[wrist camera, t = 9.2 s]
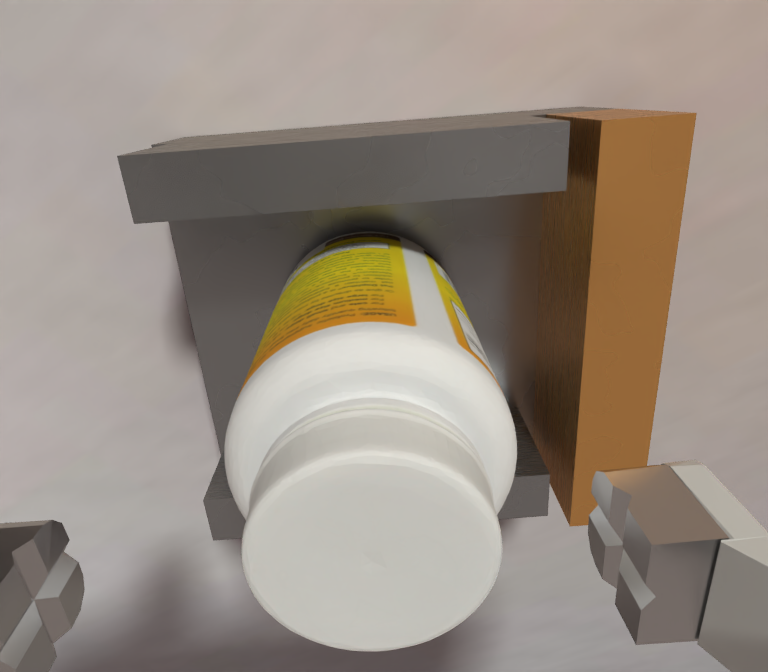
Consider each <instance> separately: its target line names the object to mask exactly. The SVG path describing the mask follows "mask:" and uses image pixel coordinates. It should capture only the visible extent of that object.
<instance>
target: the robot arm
mask: <svg viewBox="0 0 768 672" xmlns="http://www.w3.org/2000/svg"><path fill="white" fill-rule="evenodd" d="M591 493H592V495H593V496H594V498H595V500H596V502H597V503H598V506H597V507H596V508H595V509H594V510H593V511H592V512H591V514H590V515H589V523H588V536H589V543H590V549H591V553H592V556H593V559H594V562H595V565H596V567H597V569H598V571H599V573H600V575H601V577H602V579H603V580H605V581H606V582H608V583H609V584H611V585H612V586H614V587H615V588H617V591H616V599H615V605H616V607H617V609H618V611H619V613H620V615H621V617H622V619H623V621H624V622H625V624H626V626H627V628H628V630H629V632H630V634H631V636H632V638H633V640H634V642H635V644H636V645H641V644H656V643H672V642H687V641H698V645H699V646H700V647H702V648H703V649H704V650H705V651H707V652H708V653H709V654H710V655H712V656H713V657H714V658H715V659H716V660H718V661H719V662H720V663H721V664H723V665H724V666H725V667H726V668H728V669H729V670H730V671H731V672H768V532H767V531H766V530H765V529H764V528H763V526H762V525H761V524H760V523H759V522H758V521H757V520H756V519H755V518H754V517H753V516H752V515H751V514H750V513H749V512H748V511H747V510H746V508H745V507H744V506H743V505H742V504H741V503H740V502H739V501H738V500H737V499H736V498H735V497H734V496H733V495H732V494H731V493H730V491H729V490H728V489H727V488H726V487H725V486H724V485H723V484H722V483H721V482H720V481H719V480H718V479H717V478H716V477H715V476H714V475H713V473H712V472H711V471H710V470H709V469H708V468H707V467H706V466H705V465H704V464H703V463H701V462H698V461H696V460H690V461H681V462H672V463H663V464H661V465H652V466H641V467H631V468H621V469H610V470H600V471H596V473H595V475H594V477H593V481H592V490H591ZM68 542H69V538H68V536H67V533H66V531H65V529H64V527H63V525H62V523H60V522H57V521H54V520H45V521H30V522H15V523H0V672H49V670H50V668H51V666H52V664H53V663H54V661H55V659H56V657H57V656H56V652H55V648H54V642H56V641H57V640H58V639H59V638H60V637H62V636H63V635H64V634H65V633H66V632H68V631H69V630H70V629H71V628H72V626H73V624H74V622H75V620H76V618H77V616H78V614H79V612H80V610H81V605H82V600H83V595H84V580H83V573H82V571H81V568H80V565H79V563H78V562H77V561H76V560H75V559H73V558H72V557H70V556H69V555H68V554H66V553H65V552H64V550H65V548H66V546H67V544H68Z"/></svg>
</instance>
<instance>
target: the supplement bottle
mask: <svg viewBox="0 0 768 672" xmlns="http://www.w3.org/2000/svg"><path fill="white" fill-rule="evenodd" d="M224 459H225V469H226V475H227V480H228V484H229V487H230V490H231V493H232V495H233V498H234V500H235V502H236V504H237V506H238V508H239V510H240V512H241V513H242V515H243V517H244V518H245V520H246V523H245V526H244V531H243V536H242V548H241V558H242V564H243V570H244V574H245V576H246V579H247V582H248V585H249V587H250V589H251V591H252V593H253V595H254V596H255V598H256V599H257V600H258V602H259V603H260V605H261V606H262V607H263V608H264V609H265V610H266V611H267V612H268V613H269V614H270V615H271V616H272V617H273V618H274V619H275V620H277V621H278V622H279V623H280V624H282V625H283V626H284V627H286V628H287V629H289V630H290V631H292V632H294V633H296V634H298V635H300V636H302V637H305V638H307V639H309V640H311V641H314V642H316V643H319V644H323V645H326V646H330V647H334V648H338V649H344V650H351V651H387V650H395V649H400V648H405V647H410V646H414V645H418V644H421V643H424V642H427V641H430V640H432V639H434V638H436V637H438V636H440V635H442V634H444V633H446V632H448V631H450V630H451V629H453V628H454V627H456V626H457V625H459V624H460V623H461V622H463V621H464V620H465V619H467V618H468V617H469V616H470V615H471V614H472V613H473V612H474V611H475V610H476V609H477V608H478V607H479V606H480V605H481V604H482V602H483V601H484V599H485V598H486V597H487V595H488V594H489V592H490V591H491V589H492V587H493V585H494V583H495V581H496V578H497V575H498V572H499V569H500V565H501V559H502V535H501V529H500V525H499V520H498V517H497V514H498V513H499V511H500V510H501V508H502V506H503V504H504V502H505V500H506V498H507V496H508V493H509V491H510V489H511V486H512V483H513V479H514V474H515V469H516V461H517V440H516V432H515V426H514V422H513V419H512V416H511V413H510V409H509V407H508V404H507V401H506V399H505V396H504V394H503V392H502V390H501V388H500V386H499V383H498V381H497V379H496V376H495V374H494V372H493V370H492V368H491V366H490V363H489V361H488V359H487V357H486V355H485V352H484V350H483V348H482V346H481V343H480V341H479V339H478V336H477V334H476V332H475V330H474V328H473V325H472V323H471V321H470V319H469V317H468V315H467V313H466V310H465V308H464V306H463V304H462V302H461V299H460V297H459V296H458V293H457V291H456V289H455V287H454V285H453V283H452V281H451V279H450V277H449V276H448V274H447V272H446V271H445V270H444V268H443V267H442V265H441V264H440V263H439V262H438V261H437V260H436V259H435V258H434V257H433V256H432V255H431V254H430V253H429V252H427V251H426V250H425V249H423V248H422V247H420V246H419V245H417V244H415V243H414V242H412V241H410V240H407V239H405V238H402V237H400V236H397V235H393V234H388V233H383V232H356V233H350V234H345V235H341V236H338V237H335V238H333V239H330V240H328V241H326V242H325V243H323V244H321V245H319V246H318V247H316V248H315V249H313V250H312V251H311V252H310V253H308V254H307V255H306V256H305V257H304V258H303V259H302V260H301V261H300V262H299V263H298V265H297V266H296V267H295V269H294V270H293V272H292V273H291V274H290V276H289V278H288V280H287V282H286V284H285V286H284V288H283V290H282V292H281V295H280V297H279V300H278V302H277V304H276V307H275V309H274V311H273V313H272V316H271V319H270V321H269V323H268V326H267V328H266V330H265V333H264V335H263V338H262V340H261V343H260V345H259V347H258V350H257V352H256V355H255V357H254V359H253V362H252V364H251V367H250V369H249V372H248V374H247V376H246V379H245V381H244V384H243V386H242V388H241V390H240V393H239V395H238V398H237V400H236V403H235V405H234V408H233V411H232V414H231V417H230V420H229V424H228V427H227V431H226V437H225V447H224Z"/></svg>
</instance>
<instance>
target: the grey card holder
mask: <svg viewBox="0 0 768 672" xmlns="http://www.w3.org/2000/svg"><path fill="white" fill-rule="evenodd" d="M695 120H696V113H687V112H669V111H650V110H631V109H613V108H594V107H571V108H558V109H545V110H532V111H520V112H507V113H494V114H481V115H468V116H455V117H442V118H429V119H416V120H403V121H390V122H377V123H364V124H351V125H339V126H326V127H313V128H300V129H287V130H274V131H261V132H248V133H235V134H222V135H209V136H196V137H184V138H179V139H175V140H171V141H166V142H162V143H158V144H153V145H151V146H152V148H149V149H145V150H140V151H136V152H132V153H128V154H124V155H120V156H117V157H118V161H119V165H120V169H121V173H122V177H123V181H124V185H125V189H126V193H127V197H128V201H129V205H130V209H131V213H132V217H133V221H134V224H139V223H152V222H165V221H169V226H170V230H171V235H172V239H173V244H174V248H175V252H176V257H177V261H178V266H179V270H180V275H181V279H182V284H183V288H184V292H185V297H186V301H187V306H188V310H189V315H190V319H191V324H192V328H193V332H194V337H195V341H196V346H197V350H198V355H199V359H200V364H201V368H202V372H203V377H204V381H205V386H206V390H207V395H208V399H209V404H210V408H211V412H212V417H213V421H214V426H215V430H216V435H217V439H218V444H219V448H220V452H221V458H220V460H219V463H218V465H217V468H216V470H215V473H214V475H213V478H212V480H211V482H210V485H209V487H208V490H207V492H206V495H205V497H204V500H203V501H204V505H205V509H206V513H207V517H208V521H209V525H210V529H211V533H212V537H213V540H225V539H239V538H242V536H243V531H244V526H245V523H246V520H245V518H244V517H243V515H242V513H241V512H240V510H239V508H238V506H237V504H236V502H235V500H234V498H233V495H232V493H231V490H230V487H229V484H228V480H227V475H226V469H225V459H224V447H225V437H226V431H227V427H228V424H229V420H230V417H231V414H232V411H233V408H234V405H235V403H236V400H237V398H238V395H239V393H240V390H241V388H242V386H243V384H244V381H245V379H246V376H247V374H248V372H249V369H250V367H251V364H252V362H253V359H254V357H255V355H256V352H257V350H258V347H259V345H260V343H261V340H262V338H263V335H264V333H265V330H266V328H267V326H268V323H269V321H270V319H271V316H272V313H273V311H274V309H275V307H276V304H277V302H278V300H279V297H280V295H281V292H282V290H283V288H284V286H285V284H286V282H287V280H288V278H289V276H290V274H291V273H292V272H293V270H294V269H295V267H296V266H297V265H298V263H299V262H300V261H301V260H302V259H303V258H304V257H305V256H306V255H307V254H308V253H310V252H311V251H312V250H313V249H315V248H316V247H318V246H319V245H321V244H323V243H325V242H326V241H328V240H330V239H333V238H335V237H338V236H341V235H345V234H350V233H356V232H383V233H388V234H393V235H397V236H400V237H402V238H405V239H407V240H410V241H412V242H414V243H415V244H417V245H419V246H420V247H422V248H423V249H425V250H426V251H427V252H429V253H430V254H431V255H432V256H433V257H434V258H435V259H436V260H437V261H438V262H439V263H440V264H441V265H442V267H443V268H444V270H445V271H446V272H447V274H448V276H449V277H450V279H451V281H452V283H453V285H454V287H455V289H456V291H457V293H458V296H459V297H460V299H461V302H462V304H463V306H464V308H465V310H466V313H467V315H468V317H469V319H470V321H471V323H472V325H473V328H474V330H475V332H476V334H477V336H478V339H479V341H480V343H481V346H482V348H483V350H484V352H485V355H486V357H487V359H488V361H489V363H490V366H491V368H492V370H493V372H494V374H495V376H496V379H497V381H498V383H499V386H500V388H501V390H502V392H503V394H504V396H505V399H506V401H507V404H508V407H509V409H510V413H511V416H512V419H513V422H514V426H515V432H516V440H517V461H516V469H515V474H514V479H513V483H512V486H511V489H510V491H509V493H508V496H507V498H506V500H505V502H504V504H503V506H502V508H501V510H500V511H499V513H498V514H497V517H498V519H509V518H522V517H536V516H548V500H549V483H550V485H551V487H552V489H553V491H554V493H555V495H556V498H557V500H558V502H559V504H560V506H561V508H562V510H563V512H564V515H565V517H566V519H567V521H568V523H569V525H570V526H581V525H588V523H589V515H590V514H591V512H592V511H593V510H594V509H595V508H596V507H597V506H598V503H597V502H596V500H595V498H594V496H593V495H592V493H591V490H592V481H593V477H594V475H595V473H596V471H600V470H610V469H621V468H631V467H641V466H647V461H648V454H649V446H650V439H651V432H652V425H653V418H654V411H655V404H656V397H657V390H658V383H659V375H660V368H661V361H662V354H663V347H664V340H665V333H666V326H667V319H668V312H669V304H670V297H671V290H672V283H673V276H674V269H675V262H676V255H677V248H678V241H679V233H680V226H681V219H682V212H683V205H684V198H685V191H686V184H687V177H688V170H689V163H690V155H691V148H692V141H693V134H694V127H695Z"/></svg>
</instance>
